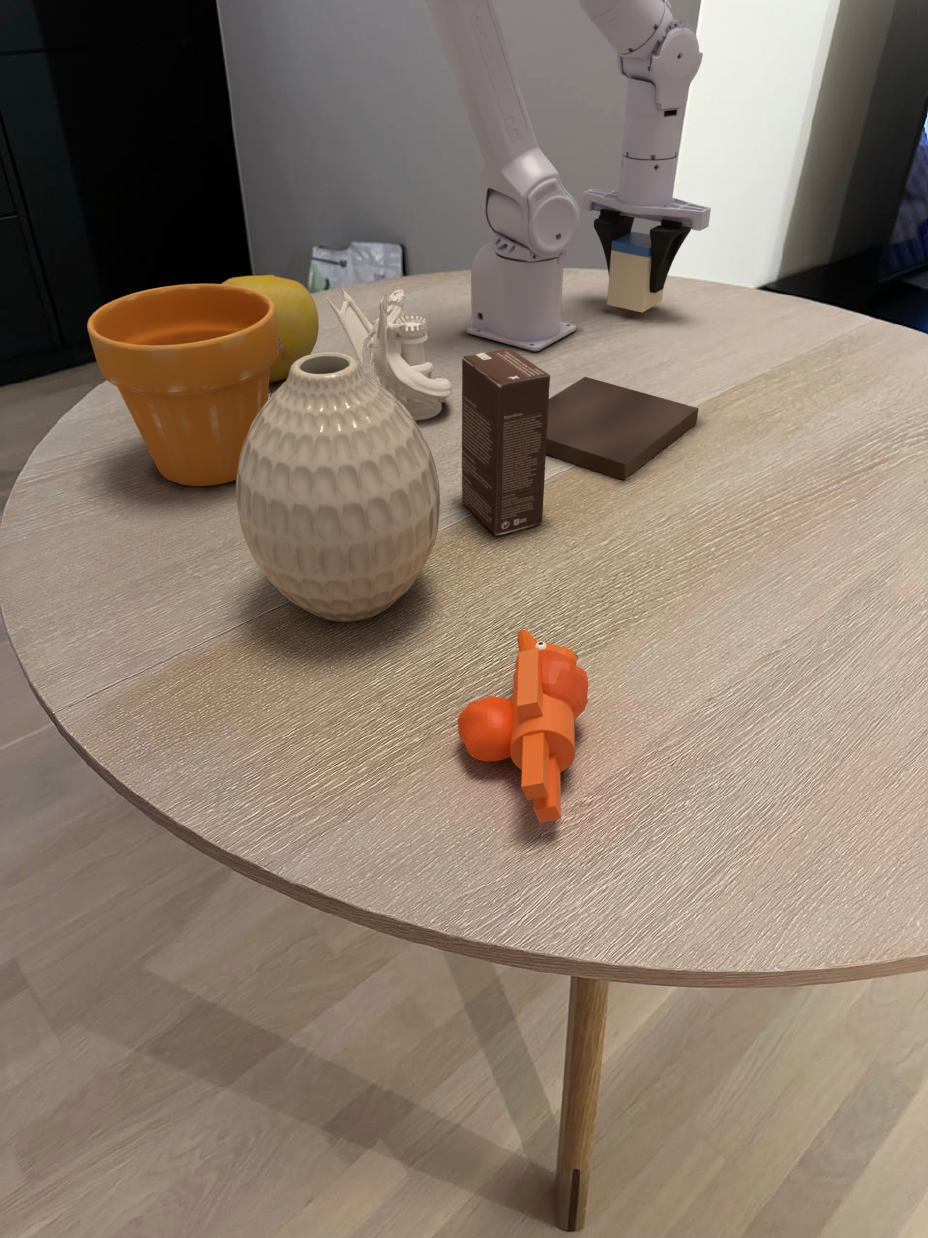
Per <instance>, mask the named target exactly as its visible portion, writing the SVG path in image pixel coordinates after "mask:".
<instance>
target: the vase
mask: <svg viewBox="0 0 928 1238" xmlns="http://www.w3.org/2000/svg"><path fill="white" fill-rule="evenodd" d="M235 491H236V492H235V495H236V497H235V498H236V507H237V512H238V518H239V524H240V527H241V531H242V534H243V538H244V540H245V544H246V547H247V548H248V551H249V552H250V554H251V556H252V558H253V560H254V562H255V563H256V565H257V567H258V569H259V570H260V571H261V572H262V574H263V575H264V576H265V577H266V578H267V580H268V581H269V582H270V584H271V585H272V586H274V588H275V589H276V590H277V591H279V592H280V593H281V594H282V595H283V596H284V597H285V598H286V599H287V600H288V601H290V603H292V604H294V605H296V606H297V607H299V608H301V609H303V610H305V611H306V612H308V613H310V614H312V615H315V616H317V617H319V618H321V619H322V620H326V621H331V622H336V623H353V622H359V621H365V620H368V619H371V618H373V617H376V616H378V615H380V614H381V613H383V612H384V611H386V610H387V609H389V608H390V607H392V606H393V605H394V604H395V603H396V602H397V601H398V600H400V599H401V598H402V597H403V596H404V595H405V594H406V593H407V592H408V591H409V590H410V589H411V587H412V586H413V584H414V583H415V582H416V580H417V579H418V577H419V576H420V575H421V573H422V571H423V569H424V568H425V566H426V564H427V562H428V561H429V558H430V556H431V555H432V551H433V549H434V546H435V542H436V539H437V534H438V531H439V523H440V513H441V511H440V509H441V496H440V482H439V477H438V471H437V466H436V463H435V459H434V456H433V454H432V451H431V449H430V446H429V443H428V441H427V439H426V437H425V435H424V434H423V432H422V429H421V428H420V426H419V425H418V423H417V421H416V420H414V419H413V417H412V416H411V414H410V413H409V412H408V410H407V409H406V408H405V407H404V406H403V405H402V403H401V402H400V401H399V400H398V399H397V398H396V397H395V396H394V395H392V394H391V393H390V392H389V391H388V390H387V389H385V388H384V387H383V386H382V384H381V383H379V382H377V381H376V379H373V378H372V377H370V376H369V375H368V374H366V373H365V372H364V371H363V368H362V365H361V363H359V361H358V360H357V359H356V358H355V357H353V356H351V355H348V354H346V353H341V352H333V351H324V352H315V353H311V354H310V355H307V356H304V357H302V358H300V359H298V360H297V361H295V362H294V363H293V364H292V365H291V368H290V370H289V375H288V377H287V378H286V379H285V381H284V382H283V383H282V384H281V385H280V386H278V388H277V389H275V391H274V392H273V393H272V394H271V395H270V396H269V397H268V400H267V402H266V403H265V404H264V405H263V407H262V408H261V409H260V411H259V412H258V414H257V416H256V417H255V419H254V421H253V422H252V424H251V427H250V429H249V432H248V434H247V436H246V439H245V441H244V444H243V447H242V451H241V454H240V457H239V463H238V470H237V477H236V480H235Z"/></svg>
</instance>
